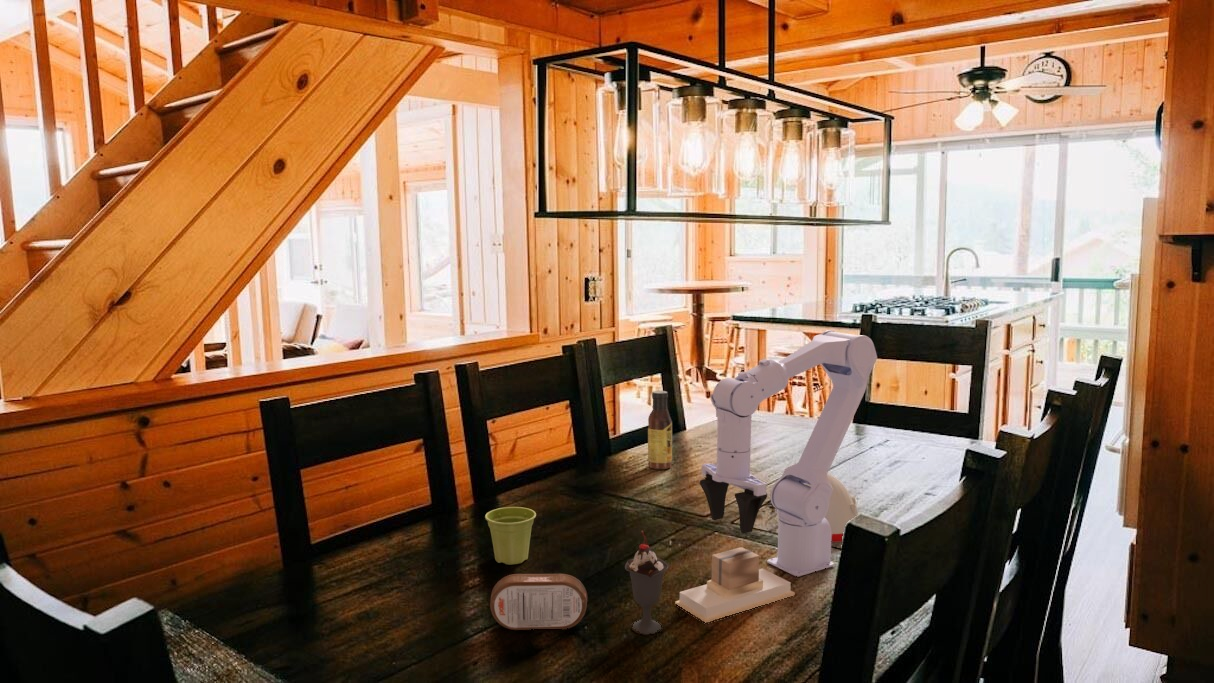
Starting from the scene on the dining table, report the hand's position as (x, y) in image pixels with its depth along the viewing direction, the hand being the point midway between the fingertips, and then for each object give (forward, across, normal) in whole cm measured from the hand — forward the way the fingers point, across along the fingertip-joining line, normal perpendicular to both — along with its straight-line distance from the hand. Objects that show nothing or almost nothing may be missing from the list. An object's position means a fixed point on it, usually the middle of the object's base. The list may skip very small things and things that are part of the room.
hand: (731, 525), depth 144 cm
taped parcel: (+8, +6, -4) cm, 11 cm away
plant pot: (+11, -30, -28) cm, 42 cm away
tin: (+11, -4, -36) cm, 38 cm away
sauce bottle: (+10, -64, +32) cm, 73 cm away
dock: (+10, +6, -4) cm, 13 cm away
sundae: (+11, +6, -22) cm, 25 cm away
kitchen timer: (+10, -9, +33) cm, 36 cm away
